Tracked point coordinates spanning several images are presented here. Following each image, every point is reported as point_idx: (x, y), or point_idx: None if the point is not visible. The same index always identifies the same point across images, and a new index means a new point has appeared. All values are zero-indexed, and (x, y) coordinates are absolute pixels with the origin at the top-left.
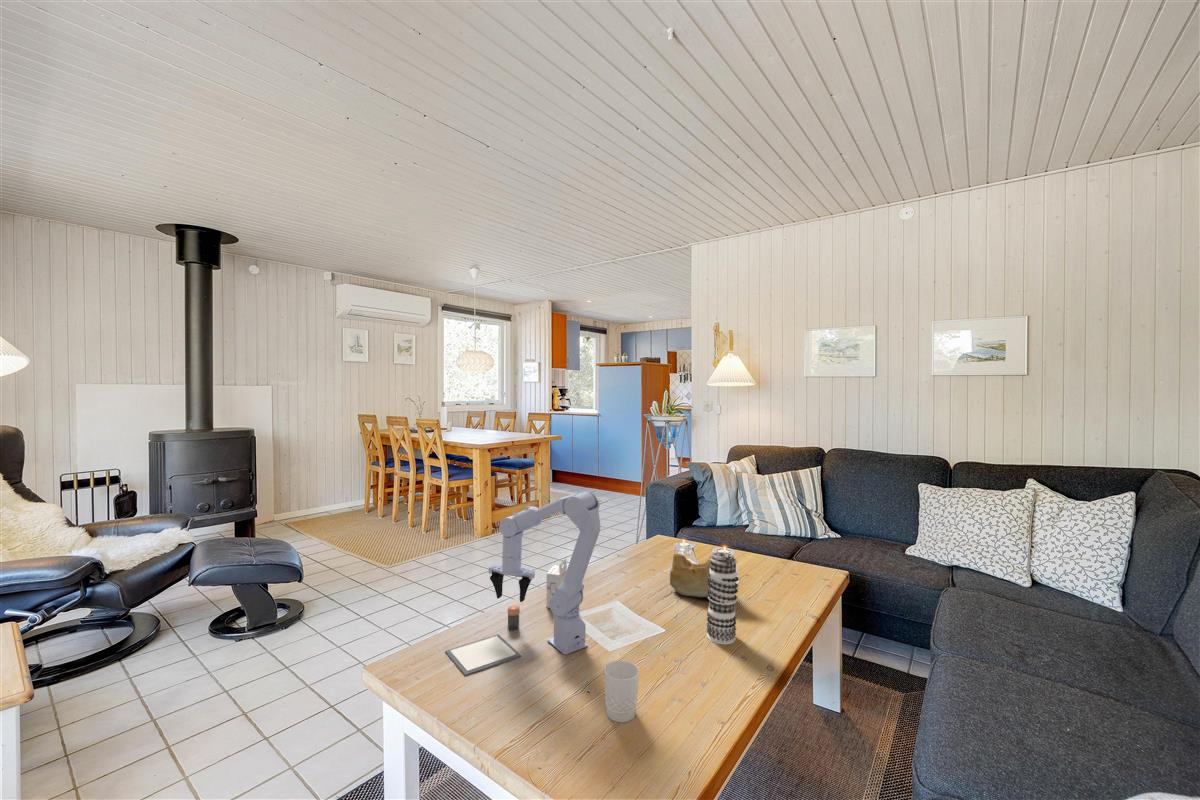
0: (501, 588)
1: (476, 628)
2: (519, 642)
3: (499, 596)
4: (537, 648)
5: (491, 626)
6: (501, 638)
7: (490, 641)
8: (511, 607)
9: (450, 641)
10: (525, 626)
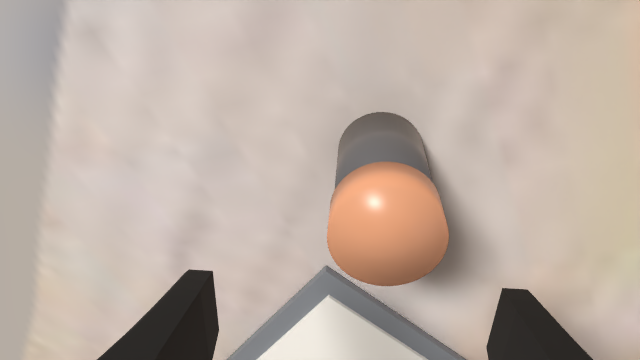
0: (178, 354)
1: (144, 218)
2: (483, 301)
3: (213, 334)
4: (608, 333)
5: (220, 174)
6: (366, 305)
7: (321, 347)
8: (359, 233)
9: None
10: (468, 114)
